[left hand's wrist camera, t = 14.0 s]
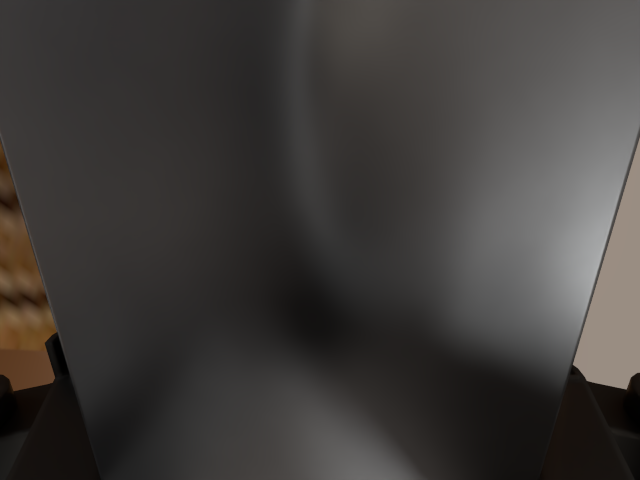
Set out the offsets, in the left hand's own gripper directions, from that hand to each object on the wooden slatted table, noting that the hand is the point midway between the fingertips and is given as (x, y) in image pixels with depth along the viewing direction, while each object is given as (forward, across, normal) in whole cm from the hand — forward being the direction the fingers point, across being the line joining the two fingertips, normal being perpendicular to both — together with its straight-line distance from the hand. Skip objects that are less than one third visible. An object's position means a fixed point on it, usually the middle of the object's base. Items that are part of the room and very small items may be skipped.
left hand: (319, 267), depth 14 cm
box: (+3, 0, -7) cm, 8 cm away
